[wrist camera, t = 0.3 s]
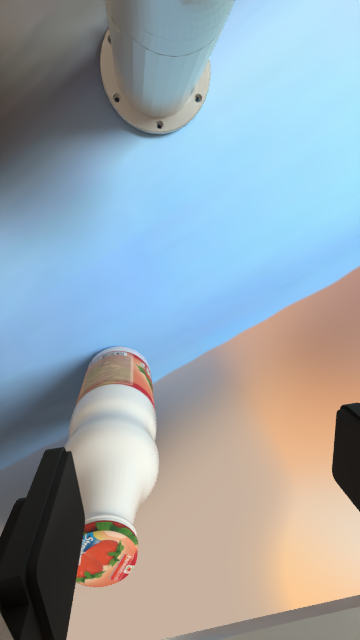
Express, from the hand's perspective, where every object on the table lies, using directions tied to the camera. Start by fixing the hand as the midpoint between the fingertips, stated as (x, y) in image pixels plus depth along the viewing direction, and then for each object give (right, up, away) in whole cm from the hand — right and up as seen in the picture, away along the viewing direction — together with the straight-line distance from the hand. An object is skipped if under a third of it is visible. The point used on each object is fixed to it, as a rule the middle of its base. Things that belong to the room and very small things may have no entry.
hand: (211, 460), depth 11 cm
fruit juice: (-10, -3, +37) cm, 38 cm away
